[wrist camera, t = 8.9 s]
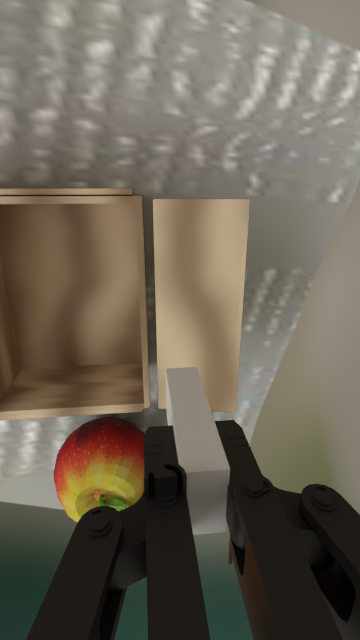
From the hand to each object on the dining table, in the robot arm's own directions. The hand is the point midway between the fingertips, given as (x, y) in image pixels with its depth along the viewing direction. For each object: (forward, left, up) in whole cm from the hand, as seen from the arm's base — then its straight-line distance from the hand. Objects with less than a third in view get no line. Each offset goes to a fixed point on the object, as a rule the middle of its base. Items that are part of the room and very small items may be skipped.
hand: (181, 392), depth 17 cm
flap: (+2, 0, -11) cm, 11 cm away
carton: (-9, 0, -20) cm, 22 cm away
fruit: (-7, -19, -20) cm, 28 cm away
